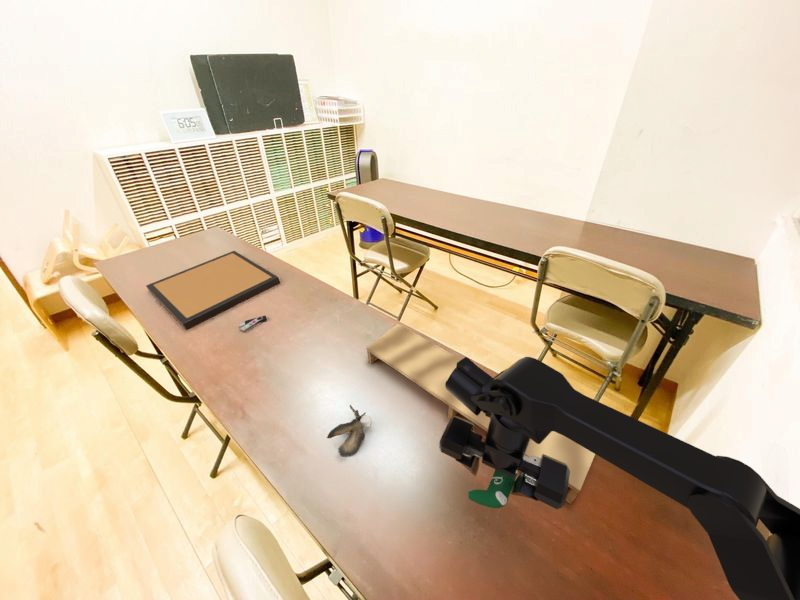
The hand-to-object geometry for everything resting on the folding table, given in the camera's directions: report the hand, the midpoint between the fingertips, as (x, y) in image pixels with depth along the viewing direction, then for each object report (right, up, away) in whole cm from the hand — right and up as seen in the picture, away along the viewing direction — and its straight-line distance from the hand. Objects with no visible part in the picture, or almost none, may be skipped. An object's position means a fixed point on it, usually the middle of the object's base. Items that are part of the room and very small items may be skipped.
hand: (493, 482), depth 55 cm
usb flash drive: (-65, +23, +52) cm, 86 cm away
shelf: (0, +6, +26) cm, 26 cm away
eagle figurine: (-27, 0, +19) cm, 33 cm away
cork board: (-88, +36, +71) cm, 119 cm away
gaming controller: (0, -1, +1) cm, 1 cm away
